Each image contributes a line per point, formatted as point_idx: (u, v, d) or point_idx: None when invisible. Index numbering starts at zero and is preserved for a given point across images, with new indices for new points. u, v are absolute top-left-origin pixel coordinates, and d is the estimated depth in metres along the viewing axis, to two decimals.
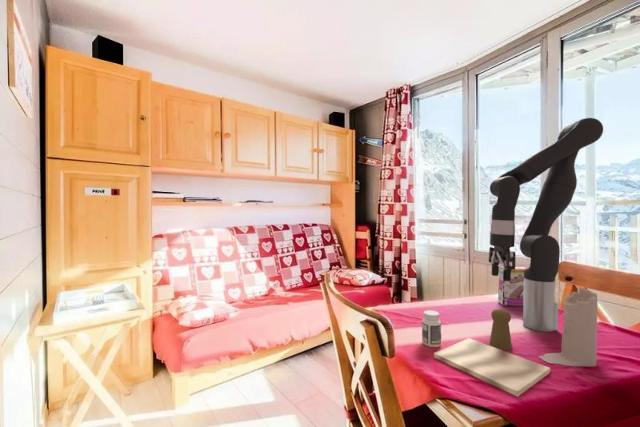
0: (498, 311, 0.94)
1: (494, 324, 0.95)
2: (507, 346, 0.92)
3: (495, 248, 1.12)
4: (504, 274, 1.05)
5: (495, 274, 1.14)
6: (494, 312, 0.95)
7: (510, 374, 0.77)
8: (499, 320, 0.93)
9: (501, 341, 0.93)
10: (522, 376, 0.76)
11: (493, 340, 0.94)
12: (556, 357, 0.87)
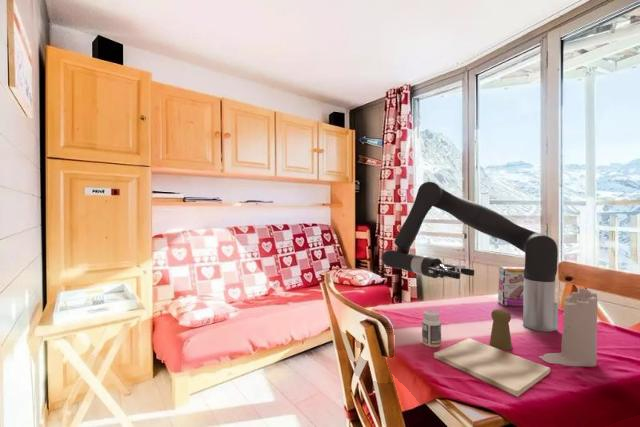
0: (498, 311, 0.94)
1: (494, 324, 0.95)
2: (507, 346, 0.92)
3: None
4: (452, 277, 1.03)
5: (471, 272, 1.06)
6: (494, 312, 0.95)
7: (510, 374, 0.77)
8: (499, 320, 0.93)
9: (501, 341, 0.93)
10: (522, 376, 0.76)
11: (493, 340, 0.94)
12: (556, 357, 0.87)
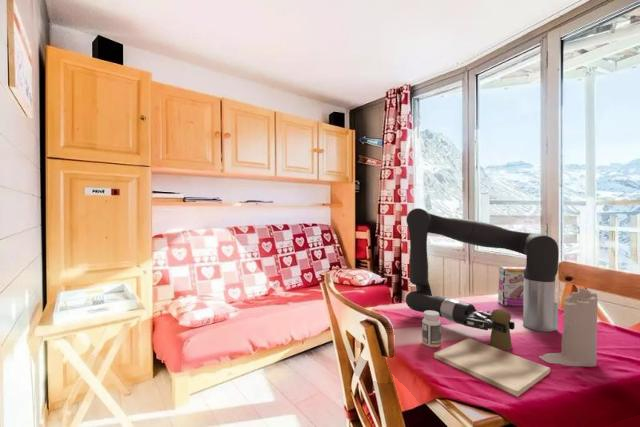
0: (498, 311, 0.94)
1: None
2: (507, 346, 0.92)
3: None
4: None
5: (511, 325, 0.94)
6: (494, 312, 0.95)
7: (510, 374, 0.77)
8: (499, 320, 0.93)
9: (501, 340, 0.93)
10: (522, 376, 0.76)
11: (493, 340, 0.94)
12: (556, 357, 0.87)
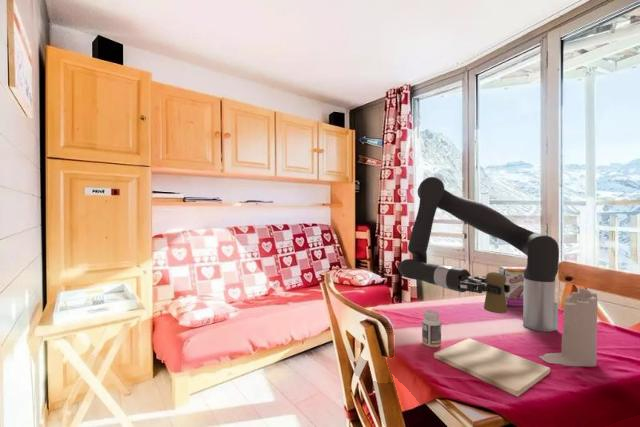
0: (493, 273, 0.90)
1: None
2: (501, 309, 0.88)
3: None
4: (493, 292, 0.89)
5: (507, 288, 0.90)
6: (489, 274, 0.90)
7: (510, 374, 0.77)
8: (493, 282, 0.89)
9: (496, 303, 0.88)
10: (522, 376, 0.76)
11: (487, 304, 0.90)
12: (556, 357, 0.87)
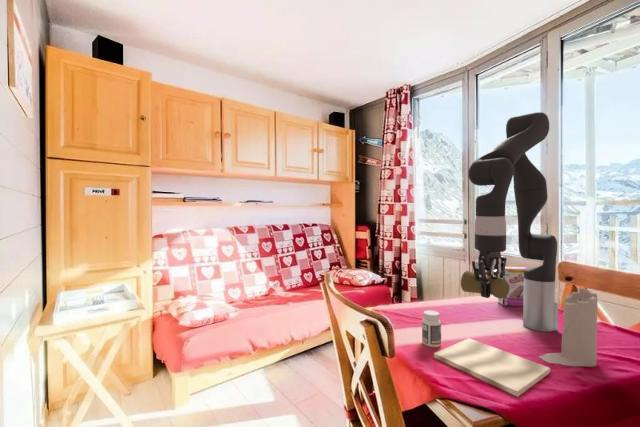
0: (504, 289, 0.79)
1: None
2: (467, 291, 0.87)
3: None
4: None
5: None
6: (501, 286, 0.79)
7: (510, 374, 0.77)
8: (493, 291, 0.80)
9: (470, 289, 0.86)
10: (522, 376, 0.76)
11: (467, 280, 0.86)
12: (556, 357, 0.87)
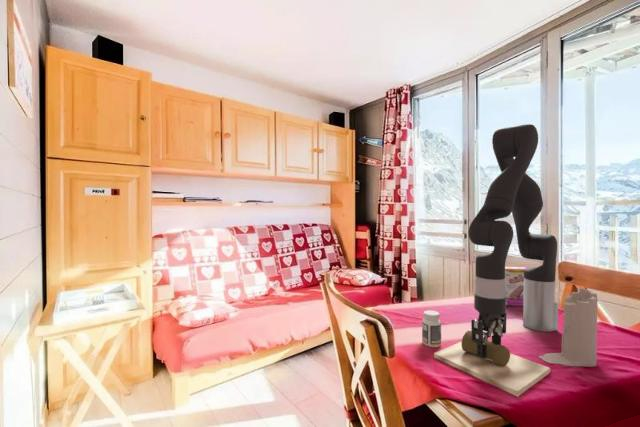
0: (504, 358, 0.79)
1: (487, 349, 0.82)
2: None
3: None
4: None
5: None
6: (501, 355, 0.79)
7: (510, 374, 0.77)
8: (493, 359, 0.81)
9: (471, 351, 0.86)
10: (522, 376, 0.76)
11: (468, 342, 0.86)
12: (556, 357, 0.87)
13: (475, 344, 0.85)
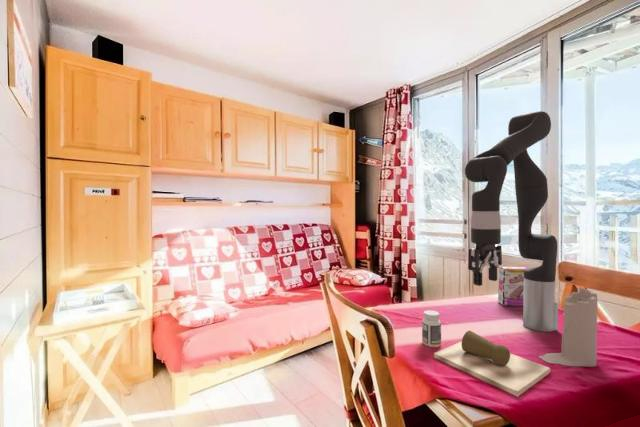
0: (504, 358, 0.79)
1: (487, 349, 0.82)
2: None
3: None
4: None
5: (492, 278, 0.91)
6: (502, 355, 0.79)
7: (510, 374, 0.77)
8: (493, 359, 0.81)
9: (471, 351, 0.86)
10: (522, 376, 0.76)
11: (468, 342, 0.86)
12: (556, 357, 0.87)
13: (475, 344, 0.85)
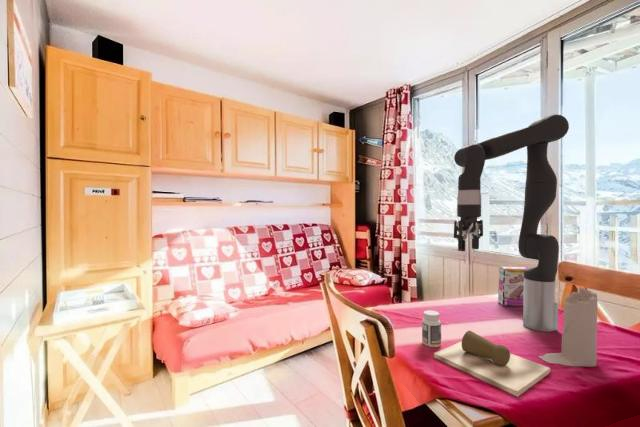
0: (504, 358, 0.79)
1: (487, 349, 0.82)
2: None
3: None
4: None
5: (474, 247, 1.09)
6: (502, 355, 0.79)
7: (510, 374, 0.77)
8: (493, 359, 0.81)
9: (471, 351, 0.86)
10: (522, 376, 0.76)
11: (468, 342, 0.86)
12: (556, 357, 0.87)
13: (475, 344, 0.85)
